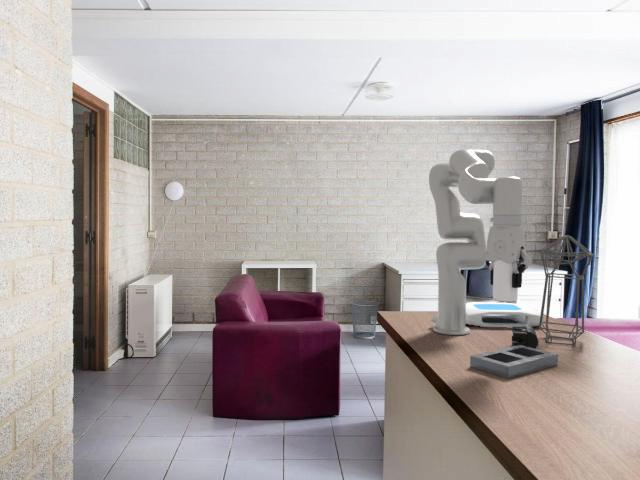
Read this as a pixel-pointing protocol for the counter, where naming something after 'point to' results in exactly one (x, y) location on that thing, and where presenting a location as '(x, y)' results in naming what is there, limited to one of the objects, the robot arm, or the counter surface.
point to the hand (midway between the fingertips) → (505, 285)
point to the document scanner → (501, 314)
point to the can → (503, 282)
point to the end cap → (524, 336)
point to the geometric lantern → (547, 250)
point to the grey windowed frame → (513, 361)
